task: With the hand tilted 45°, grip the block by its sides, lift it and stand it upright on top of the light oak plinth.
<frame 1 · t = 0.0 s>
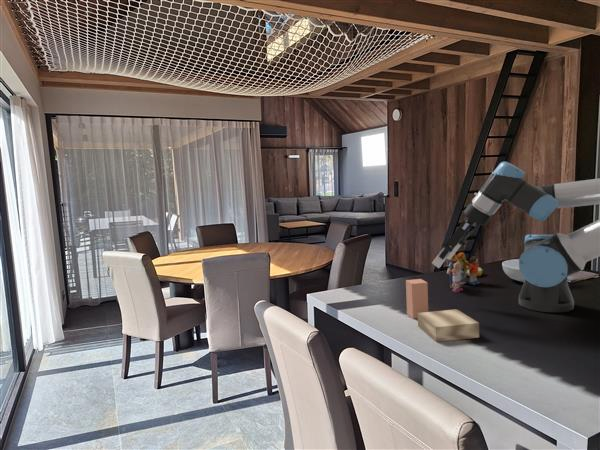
hand: (441, 261, 133), 15 cm above the table, tool tilted 35°, fingers open, 13 cm apart
decorated donut: (468, 275, 175), on the table
serving bowl: (531, 281, 159), on the table
doll family: (458, 286, 158), on the table
plinth: (447, 331, 113), on the table
block: (417, 315, 127), on the table
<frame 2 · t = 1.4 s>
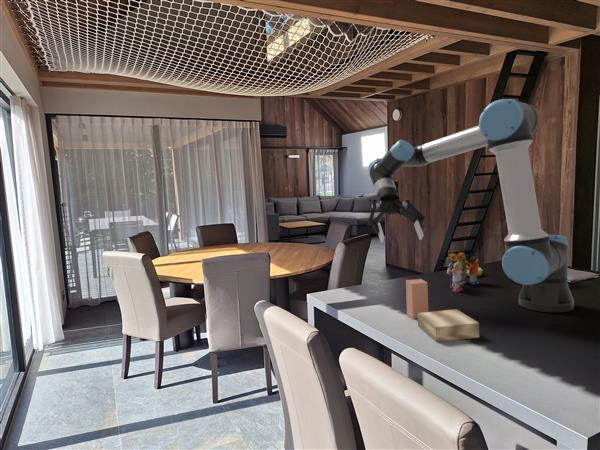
hand: (402, 239, 136), 23 cm above the table, tool tilted 45°, fingers open, 13 cm apart
nothing on the table moved.
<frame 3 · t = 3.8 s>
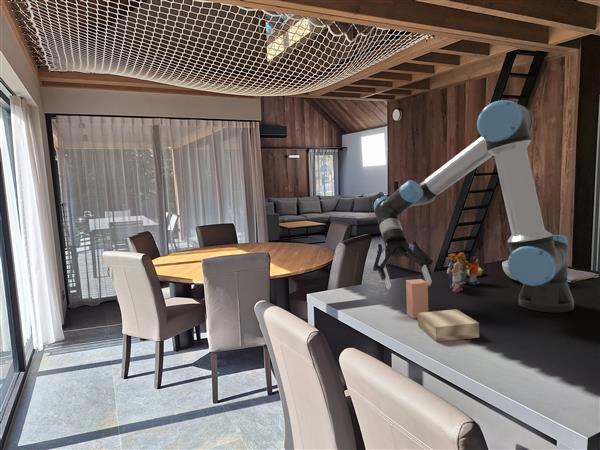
hand: (409, 285, 130), 9 cm above the table, tool tilted 45°, fingers open, 13 cm apart
nothing on the table moved.
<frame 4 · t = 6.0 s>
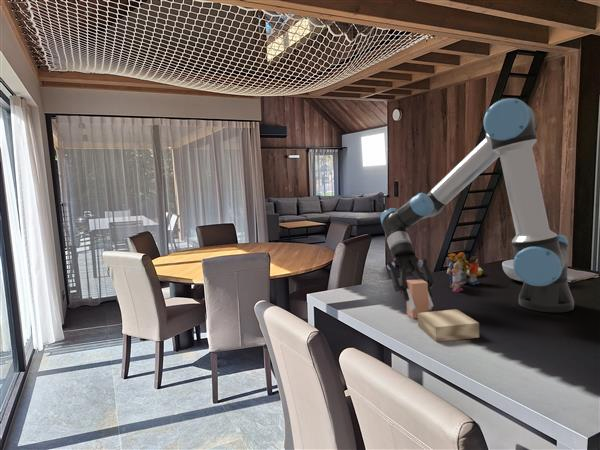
hand: (422, 308, 123), 3 cm above the table, tool tilted 45°, fingers closed on block, 5 cm apart
block: (417, 315, 127), on the table, touching gripper
everything else where it was.
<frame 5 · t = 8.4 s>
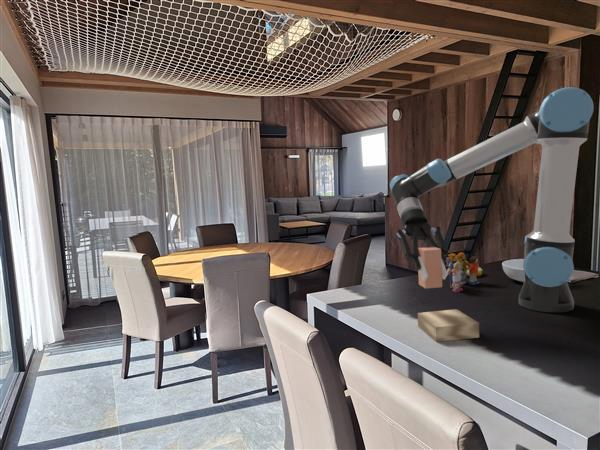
hand: (435, 277, 113), 15 cm above the table, tool tilted 45°, fingers closed on block, 5 cm apart
block: (430, 285, 117), point 12 cm above the table, touching gripper
everything else where it was.
when the fingers open (9 cm above the table, at t = 10.6 s): block drops 1 cm, resting on plinth.
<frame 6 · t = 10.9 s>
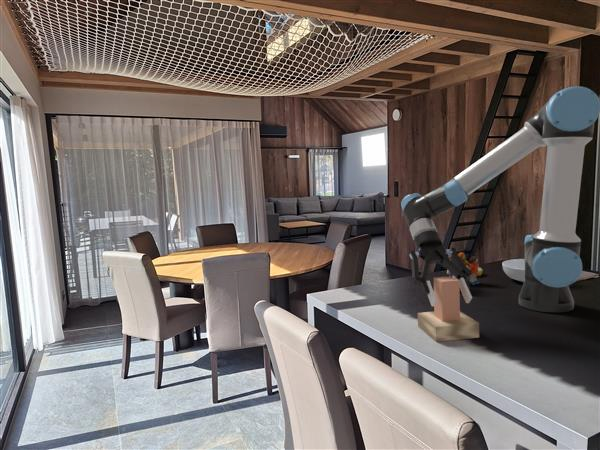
hand: (452, 302, 108), 9 cm above the table, tool tilted 45°, fingers open, 9 cm apart
block: (447, 317, 112), point 4 cm above the table, touching plinth
everything else where it was.
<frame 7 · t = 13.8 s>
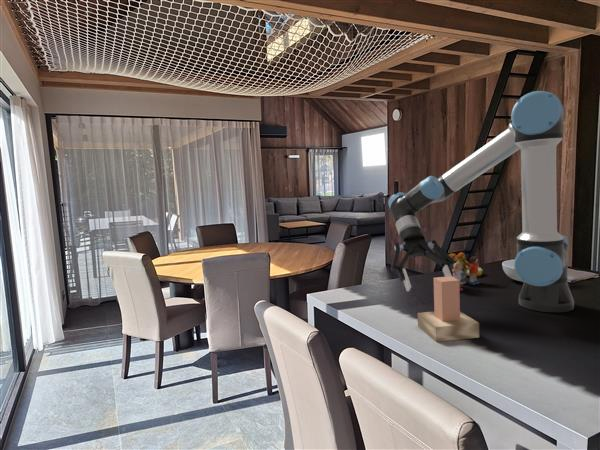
hand: (430, 287, 121), 10 cm above the table, tool tilted 45°, fingers open, 13 cm apart
nothing on the table moved.
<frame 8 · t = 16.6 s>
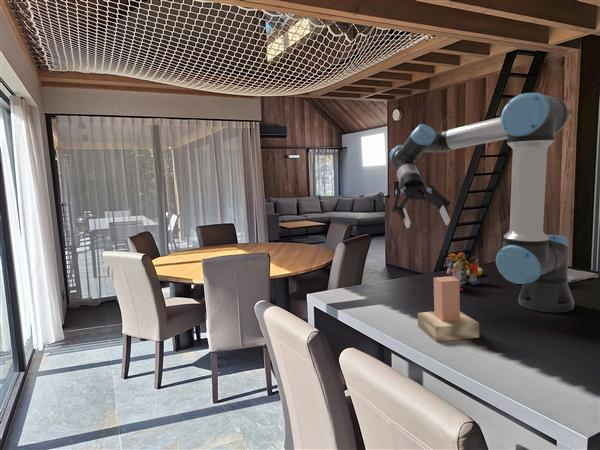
hand: (428, 224, 133), 28 cm above the table, tool tilted 45°, fingers open, 13 cm apart
nothing on the table moved.
at the end: block inside the target area on the plinth (0.1 cm from its centre), point 4.0 cm above the plinth's base; block tilted 0°; the gripper is holding nothing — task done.
